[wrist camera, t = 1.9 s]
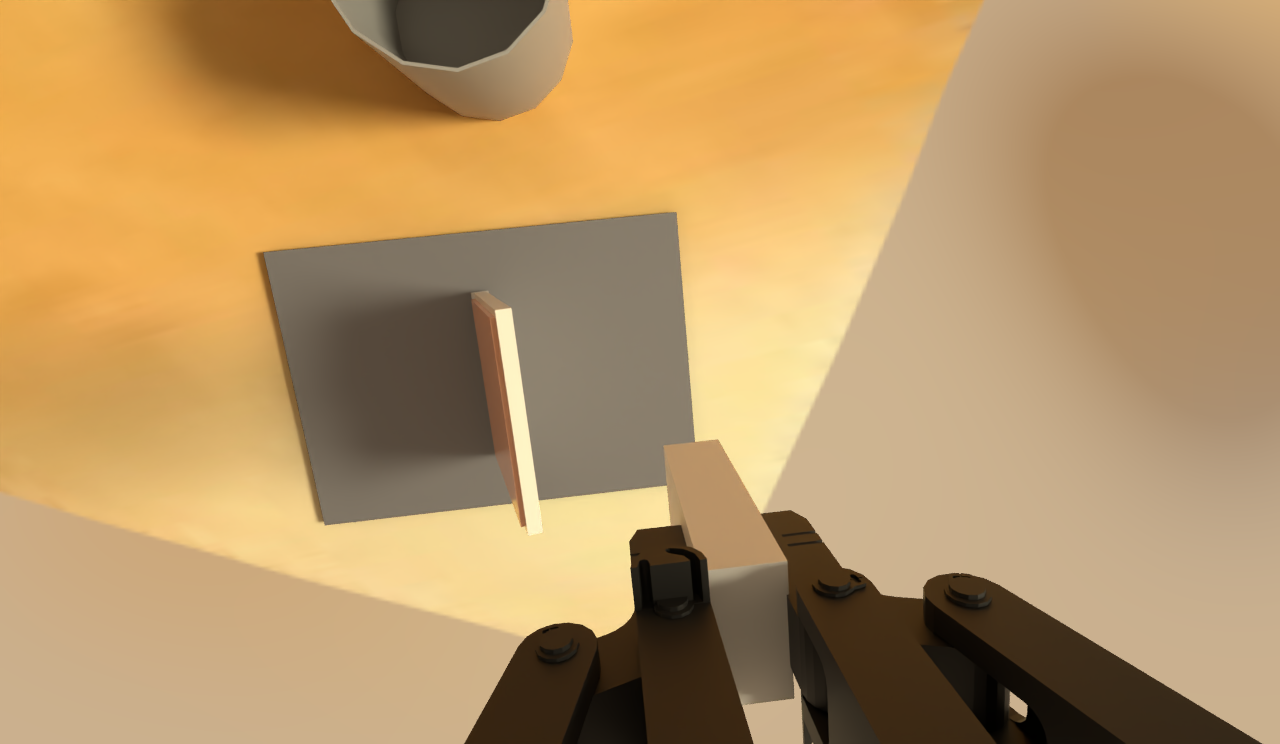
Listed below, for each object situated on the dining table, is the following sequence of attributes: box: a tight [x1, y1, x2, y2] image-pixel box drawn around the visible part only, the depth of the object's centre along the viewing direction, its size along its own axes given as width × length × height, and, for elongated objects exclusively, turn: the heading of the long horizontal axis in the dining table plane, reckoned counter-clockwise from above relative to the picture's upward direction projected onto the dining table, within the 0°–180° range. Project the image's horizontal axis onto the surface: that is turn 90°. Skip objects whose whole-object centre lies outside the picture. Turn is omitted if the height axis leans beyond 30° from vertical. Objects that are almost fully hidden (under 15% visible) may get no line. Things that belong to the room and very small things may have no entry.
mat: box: [263, 212, 695, 525], centre depth 34 cm, size 15×21×1 cm
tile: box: [471, 291, 543, 536], centre depth 29 cm, size 10×9×1 cm
